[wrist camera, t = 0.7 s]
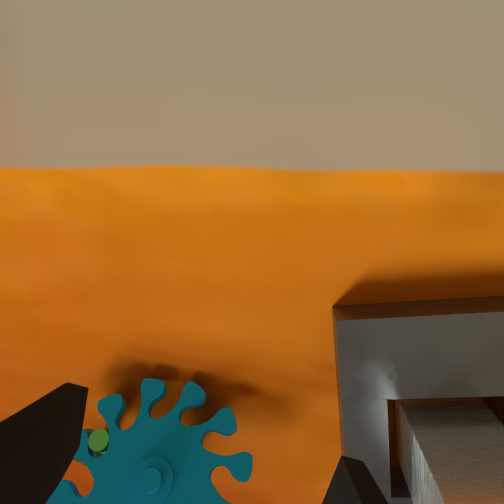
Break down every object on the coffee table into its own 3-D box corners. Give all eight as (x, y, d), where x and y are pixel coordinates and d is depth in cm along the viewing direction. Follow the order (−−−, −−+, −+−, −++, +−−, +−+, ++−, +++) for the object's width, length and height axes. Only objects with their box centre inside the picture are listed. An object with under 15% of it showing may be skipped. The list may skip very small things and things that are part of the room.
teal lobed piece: (284, 418, 20) (197, 676, 15) (274, 435, 25) (206, 633, 20) (102, 338, 22) (-31, 541, 17) (126, 369, 27) (29, 532, 22)
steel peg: (472, 454, 21) (576, 621, 13) (396, 455, 21) (453, 615, 14) (472, 388, 20) (583, 522, 12) (394, 390, 21) (453, 521, 13)
